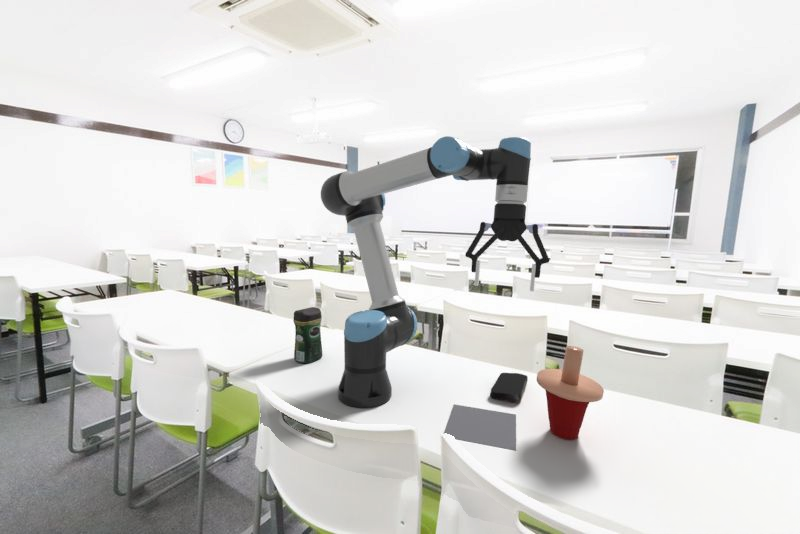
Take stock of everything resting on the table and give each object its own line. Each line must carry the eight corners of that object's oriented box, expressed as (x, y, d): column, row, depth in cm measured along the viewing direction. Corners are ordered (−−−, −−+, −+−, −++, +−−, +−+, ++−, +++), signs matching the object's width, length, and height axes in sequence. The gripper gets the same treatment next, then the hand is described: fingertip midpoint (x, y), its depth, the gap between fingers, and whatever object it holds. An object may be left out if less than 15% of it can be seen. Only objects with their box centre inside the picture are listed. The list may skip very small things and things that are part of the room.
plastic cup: (593, 454, 79) (597, 401, 78) (539, 442, 83) (542, 391, 82) (588, 428, 89) (592, 381, 88) (540, 419, 93) (543, 373, 92)
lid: (538, 392, 80) (544, 352, 79) (534, 369, 93) (540, 334, 92) (609, 408, 76) (617, 366, 75) (595, 380, 89) (601, 344, 88)
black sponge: (519, 408, 99) (520, 395, 98) (488, 401, 103) (489, 388, 102) (528, 386, 113) (528, 374, 113) (500, 380, 117) (501, 369, 117)
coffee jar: (311, 353, 137) (310, 304, 135) (325, 357, 133) (325, 307, 131) (289, 360, 129) (289, 309, 127) (304, 365, 125) (304, 312, 123)
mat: (442, 438, 84) (442, 436, 84) (453, 406, 99) (453, 404, 99) (515, 452, 79) (516, 450, 79) (515, 416, 94) (515, 414, 94)
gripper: (457, 201, 91) (452, 285, 94) (567, 204, 84) (557, 295, 86) (462, 202, 98) (457, 280, 101) (563, 205, 91) (554, 290, 93)
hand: (503, 287), depth 94 cm, fingers open, 13 cm apart
